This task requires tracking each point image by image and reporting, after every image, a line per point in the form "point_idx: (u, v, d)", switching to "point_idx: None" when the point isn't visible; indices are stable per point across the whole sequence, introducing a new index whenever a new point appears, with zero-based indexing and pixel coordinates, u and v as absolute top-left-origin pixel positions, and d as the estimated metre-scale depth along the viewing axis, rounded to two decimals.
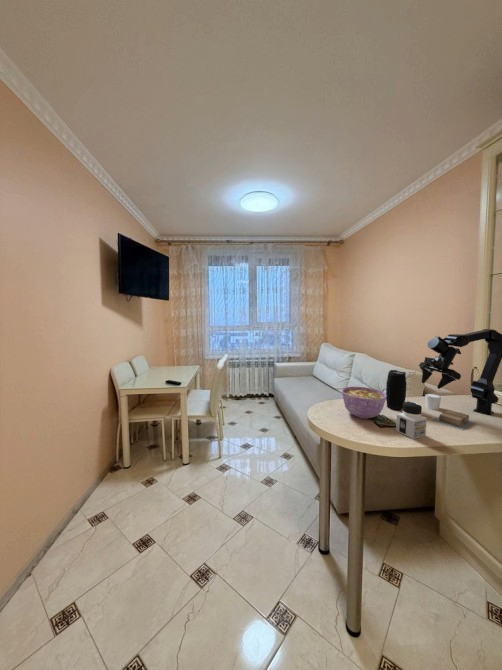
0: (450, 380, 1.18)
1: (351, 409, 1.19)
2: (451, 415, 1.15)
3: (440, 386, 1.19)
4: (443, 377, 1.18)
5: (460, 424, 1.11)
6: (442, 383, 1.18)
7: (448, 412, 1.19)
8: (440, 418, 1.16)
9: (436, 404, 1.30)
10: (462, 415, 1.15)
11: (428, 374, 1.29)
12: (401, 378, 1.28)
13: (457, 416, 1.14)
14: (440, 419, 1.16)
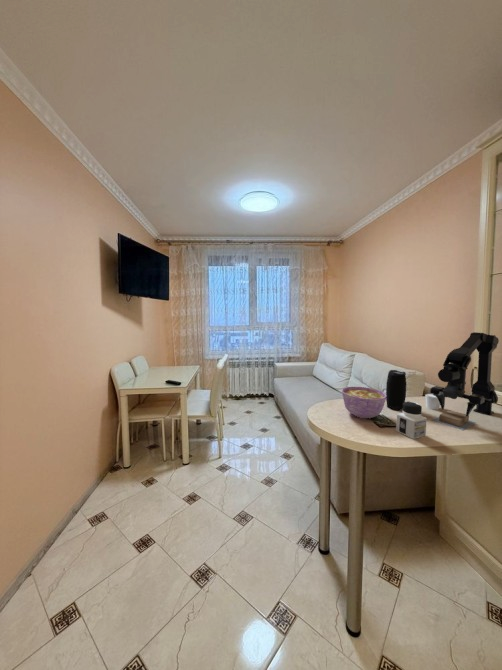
0: None
1: (351, 409, 1.19)
2: (451, 415, 1.15)
3: (468, 414, 1.12)
4: (470, 405, 1.09)
5: (460, 424, 1.11)
6: (470, 410, 1.11)
7: (448, 412, 1.19)
8: (440, 418, 1.16)
9: (436, 404, 1.30)
10: (462, 415, 1.15)
11: (443, 398, 1.20)
12: (401, 378, 1.28)
13: (457, 416, 1.14)
14: (440, 419, 1.16)
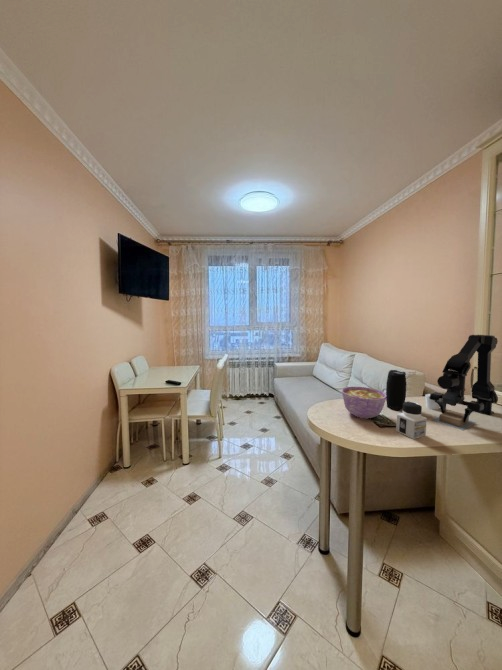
0: None
1: (351, 409, 1.19)
2: (451, 415, 1.15)
3: None
4: (467, 412, 1.10)
5: (460, 424, 1.11)
6: (467, 417, 1.11)
7: (448, 412, 1.19)
8: (440, 418, 1.16)
9: (436, 404, 1.30)
10: (462, 415, 1.15)
11: (444, 405, 1.20)
12: (401, 378, 1.28)
13: (457, 416, 1.14)
14: (440, 419, 1.16)
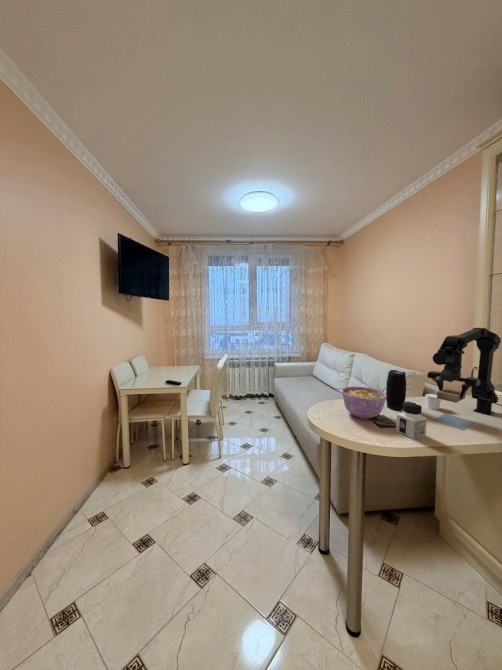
0: None
1: (351, 409, 1.19)
2: (448, 392, 1.18)
3: None
4: (464, 388, 1.13)
5: (457, 400, 1.13)
6: (464, 393, 1.14)
7: (445, 390, 1.21)
8: (437, 395, 1.18)
9: (436, 404, 1.30)
10: (459, 392, 1.18)
11: (442, 383, 1.22)
12: (401, 378, 1.28)
13: (454, 393, 1.16)
14: (438, 396, 1.18)
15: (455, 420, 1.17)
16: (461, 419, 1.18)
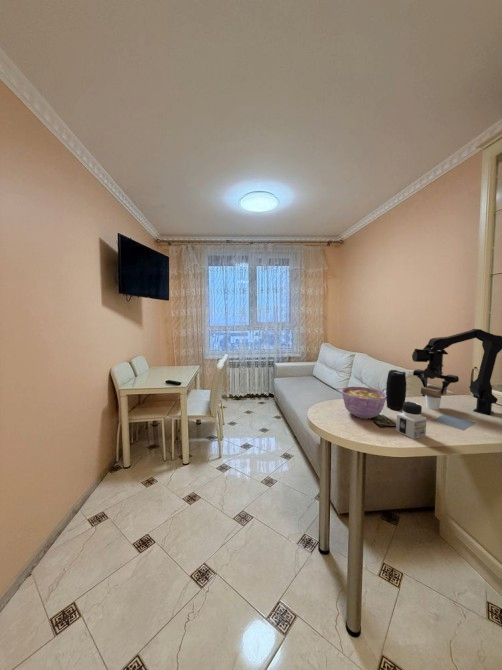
0: None
1: (351, 409, 1.19)
2: (430, 388, 1.31)
3: (443, 391, 1.28)
4: (444, 384, 1.26)
5: (438, 395, 1.27)
6: (444, 388, 1.28)
7: (429, 386, 1.35)
8: (421, 391, 1.32)
9: (436, 404, 1.30)
10: (441, 388, 1.31)
11: (426, 380, 1.36)
12: (401, 378, 1.28)
13: (436, 389, 1.30)
14: (421, 392, 1.32)
15: (455, 420, 1.17)
16: (461, 419, 1.18)
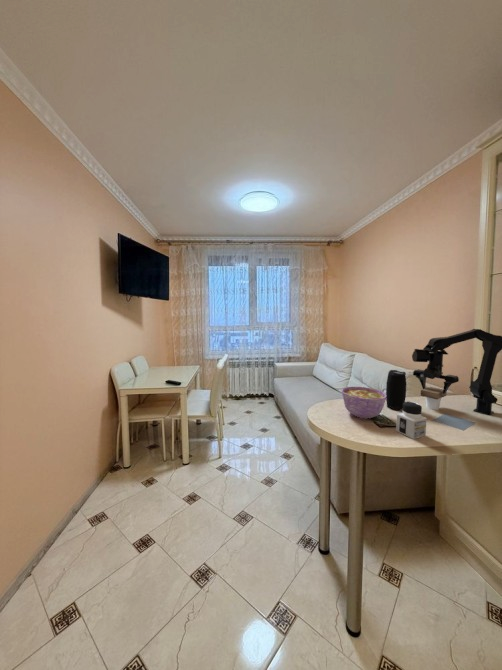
0: (450, 383, 1.27)
1: (351, 409, 1.19)
2: (430, 390, 1.31)
3: (445, 392, 1.28)
4: (446, 384, 1.26)
5: (438, 397, 1.27)
6: (446, 389, 1.27)
7: (429, 388, 1.35)
8: (421, 393, 1.32)
9: (436, 404, 1.30)
10: (440, 390, 1.32)
11: (424, 380, 1.36)
12: (401, 378, 1.28)
13: (436, 391, 1.30)
14: (421, 394, 1.32)
15: (455, 420, 1.17)
16: (461, 419, 1.18)
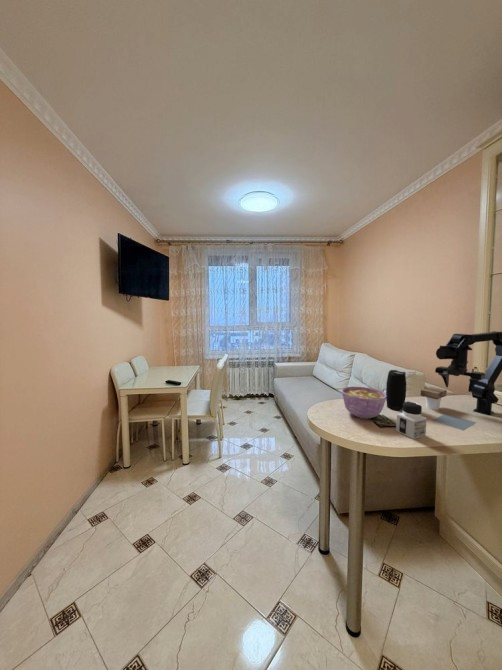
0: (476, 380, 1.22)
1: (351, 409, 1.19)
2: (430, 390, 1.31)
3: (471, 389, 1.23)
4: (471, 382, 1.21)
5: (438, 397, 1.27)
6: (472, 386, 1.22)
7: (429, 388, 1.35)
8: (421, 393, 1.32)
9: (436, 404, 1.30)
10: (440, 390, 1.31)
11: (447, 377, 1.31)
12: (401, 378, 1.28)
13: (436, 391, 1.30)
14: (421, 394, 1.32)
15: (455, 420, 1.17)
16: (461, 419, 1.18)
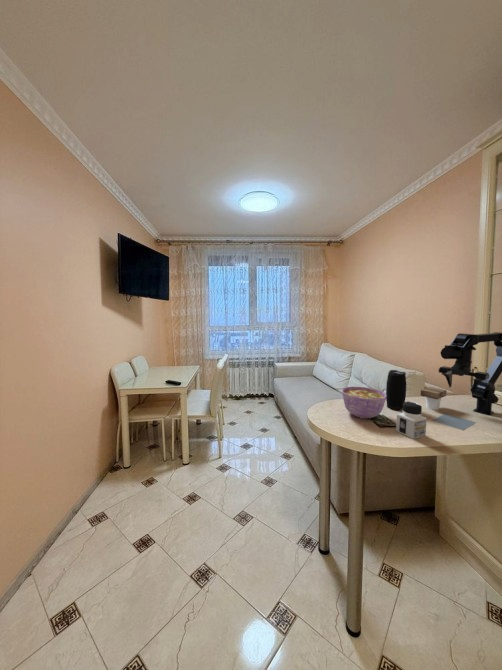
0: (480, 380, 1.21)
1: (351, 409, 1.19)
2: (430, 390, 1.32)
3: (474, 390, 1.22)
4: (476, 382, 1.20)
5: (438, 397, 1.27)
6: (475, 386, 1.21)
7: (429, 388, 1.35)
8: (421, 393, 1.32)
9: (436, 404, 1.30)
10: (440, 390, 1.32)
11: (451, 377, 1.30)
12: (401, 378, 1.28)
13: (436, 391, 1.30)
14: (421, 394, 1.32)
15: (455, 420, 1.17)
16: (461, 419, 1.18)
